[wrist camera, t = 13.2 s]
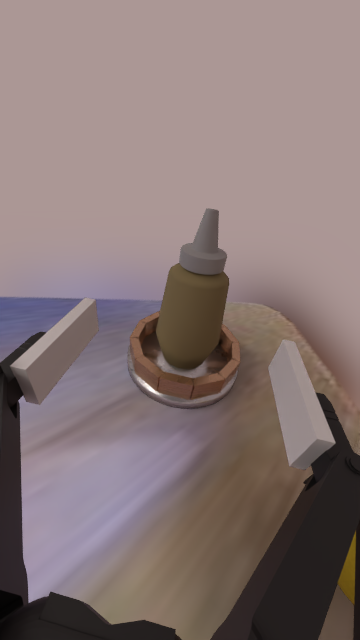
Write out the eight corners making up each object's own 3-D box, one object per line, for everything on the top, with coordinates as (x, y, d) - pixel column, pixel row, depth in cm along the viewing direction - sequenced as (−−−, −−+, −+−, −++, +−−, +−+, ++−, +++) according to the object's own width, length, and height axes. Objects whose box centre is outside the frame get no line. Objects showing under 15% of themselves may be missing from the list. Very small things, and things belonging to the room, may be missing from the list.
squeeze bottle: (223, 356, 31) (272, 218, 20) (186, 389, 25) (226, 225, 15) (181, 328, 35) (203, 200, 24) (141, 351, 29) (148, 200, 19)
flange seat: (107, 391, 25) (105, 369, 23) (146, 319, 37) (148, 300, 35) (237, 422, 24) (248, 403, 22) (234, 338, 36) (240, 320, 34)
